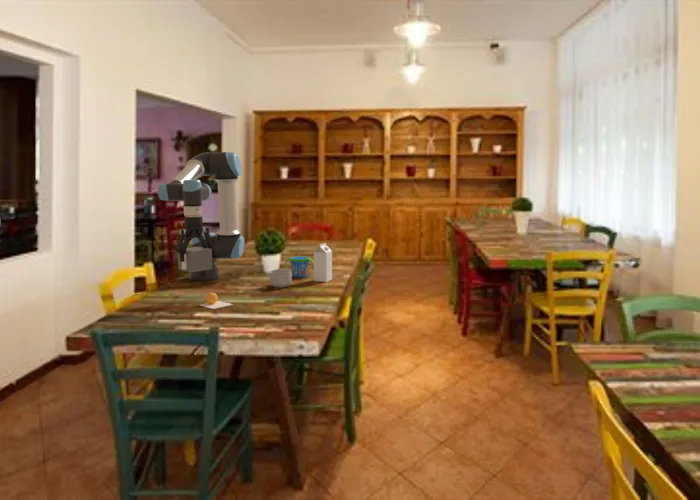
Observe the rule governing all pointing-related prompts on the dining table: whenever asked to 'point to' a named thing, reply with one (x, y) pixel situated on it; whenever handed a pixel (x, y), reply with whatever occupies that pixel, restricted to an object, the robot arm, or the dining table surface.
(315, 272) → the milk carton
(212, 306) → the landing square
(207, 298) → the ball
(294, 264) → the snack cup
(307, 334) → the dining table surface
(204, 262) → the grey block
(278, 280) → the teacup
